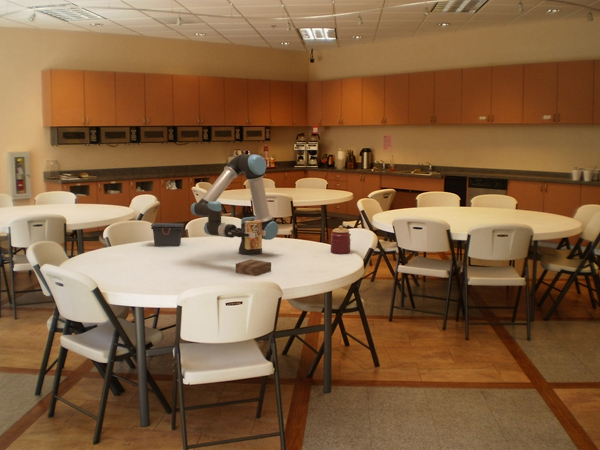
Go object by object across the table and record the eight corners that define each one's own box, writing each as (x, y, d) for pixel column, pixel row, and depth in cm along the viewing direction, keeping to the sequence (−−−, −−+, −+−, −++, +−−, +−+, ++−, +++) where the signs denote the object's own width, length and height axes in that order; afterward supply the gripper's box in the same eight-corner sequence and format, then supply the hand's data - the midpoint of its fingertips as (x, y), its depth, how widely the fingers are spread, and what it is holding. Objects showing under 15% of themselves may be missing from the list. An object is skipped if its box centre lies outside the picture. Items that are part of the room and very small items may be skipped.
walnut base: (235, 272, 348) (235, 263, 347) (251, 267, 359) (251, 259, 358) (256, 275, 340) (256, 266, 339) (271, 271, 352) (271, 262, 351)
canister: (327, 253, 402) (327, 226, 400) (334, 249, 414) (334, 223, 412) (346, 255, 398) (347, 227, 395) (353, 251, 409) (353, 224, 407)
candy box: (259, 247, 351) (259, 220, 349) (262, 248, 348) (262, 221, 345) (244, 248, 348) (244, 221, 345) (247, 249, 344) (247, 222, 341)
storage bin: (184, 243, 433) (184, 222, 430) (182, 247, 417) (182, 226, 415) (153, 243, 430) (152, 223, 428) (150, 248, 415) (149, 226, 413)
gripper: (215, 226, 346) (247, 230, 334) (239, 221, 364) (271, 225, 352) (215, 239, 347) (247, 244, 335) (240, 234, 366) (271, 238, 354)
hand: (259, 234), depth 344 cm, fingers closed on candy box, 9 cm apart
